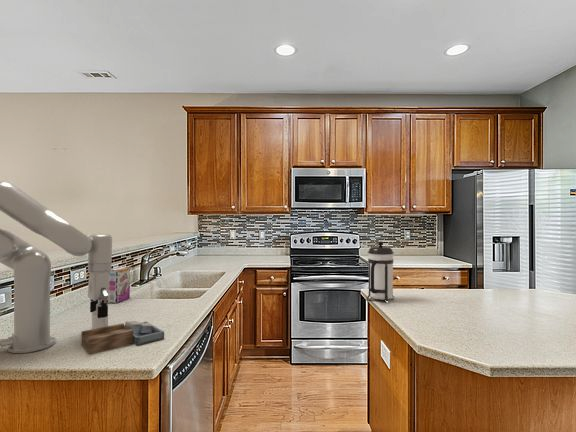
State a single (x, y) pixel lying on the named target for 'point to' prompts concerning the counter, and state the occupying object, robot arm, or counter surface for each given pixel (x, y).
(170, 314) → the counter surface
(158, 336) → the tray
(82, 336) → the slot block
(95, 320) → the eye dropper bottle
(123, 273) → the candy bar box
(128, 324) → the chip
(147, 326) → the chip
